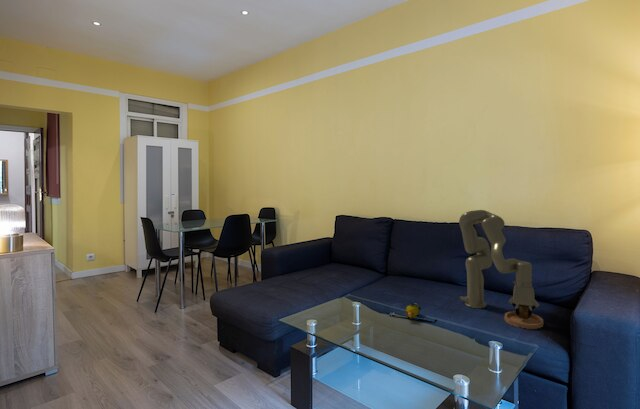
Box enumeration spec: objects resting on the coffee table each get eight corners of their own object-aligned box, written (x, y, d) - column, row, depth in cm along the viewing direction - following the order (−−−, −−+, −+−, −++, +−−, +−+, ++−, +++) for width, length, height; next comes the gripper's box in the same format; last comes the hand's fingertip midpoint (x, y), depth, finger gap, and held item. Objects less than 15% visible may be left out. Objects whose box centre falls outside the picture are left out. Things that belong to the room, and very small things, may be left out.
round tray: (503, 325, 187) (503, 321, 187) (504, 312, 204) (504, 309, 203) (544, 331, 178) (544, 327, 178) (542, 318, 194) (542, 314, 194)
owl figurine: (385, 304, 203) (392, 296, 216) (385, 318, 203) (393, 310, 216) (434, 311, 189) (439, 303, 203) (434, 327, 190) (439, 317, 203)
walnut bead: (518, 318, 190) (518, 305, 189) (518, 314, 194) (518, 302, 193) (528, 319, 187) (529, 306, 187) (528, 316, 192) (528, 303, 191)
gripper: (506, 284, 190) (506, 315, 192) (542, 287, 182) (542, 321, 183) (506, 280, 197) (506, 311, 198) (541, 283, 188) (541, 315, 190)
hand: (523, 315), depth 190 cm, fingers closed on walnut bead, 5 cm apart
